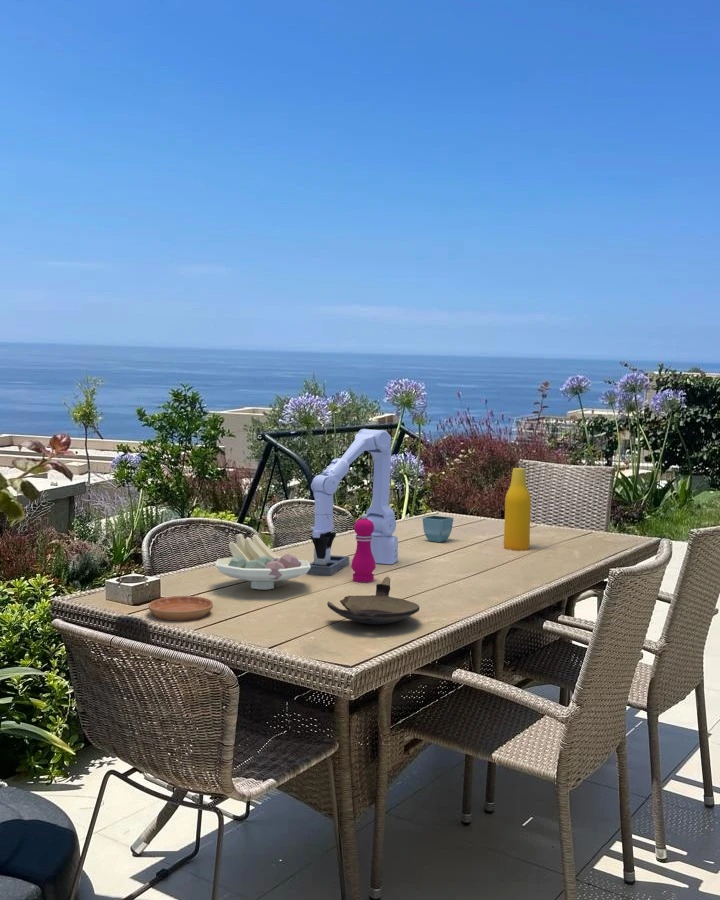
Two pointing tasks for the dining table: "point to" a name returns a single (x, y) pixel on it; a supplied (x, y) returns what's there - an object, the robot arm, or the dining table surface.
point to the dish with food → (260, 563)
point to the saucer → (180, 607)
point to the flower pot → (437, 528)
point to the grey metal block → (322, 561)
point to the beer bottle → (517, 513)
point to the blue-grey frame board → (329, 566)
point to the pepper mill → (363, 551)
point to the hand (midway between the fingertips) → (323, 557)
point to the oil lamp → (376, 607)
